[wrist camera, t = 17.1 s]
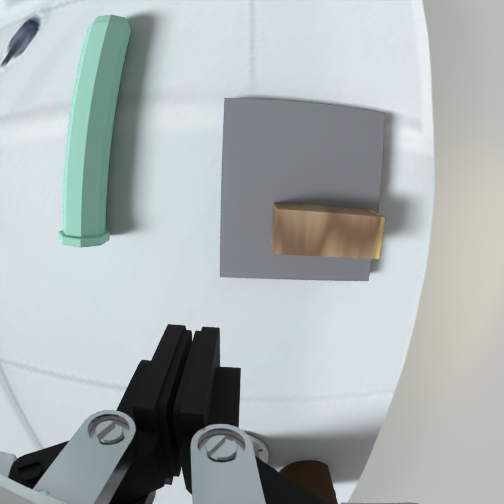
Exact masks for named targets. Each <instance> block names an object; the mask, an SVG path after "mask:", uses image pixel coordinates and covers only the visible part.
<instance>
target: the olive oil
mask: <svg viewBox="0 0 504 504" xmlns="http://www.w3.org/2000/svg"><path fill="white" fill-rule="evenodd" d="M279 473H281V474H282V475H284V476H285V477H287V478H288V479H290V480H291V481H293V482H294V483H296V484H297V485H299V486H301V487H302V488H304V489H305V490H307V491H308V492H310V493H312V494H313V495H315V496H317V497H318V498H320V499H322V500H323V501H324V502H325V503H327V504H338V503H337V499H336V493H335V490H334V488H333V484H332V480H331V476H330V472H329V468H328V467H327V465H325V464H324V463H322V462H318V461H301V462H296V463H293V464H290V465H288V466H286V467H284V468H283V469H281V470H280V471H279Z"/></svg>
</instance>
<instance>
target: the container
mask: <svg viewBox="0 0 504 504" xmlns="http://www.w3.org/2000/svg"><path fill="white" fill-rule="evenodd" d="M130 33H131V29H130V25H129V22H128V21H127V20H126V19H125V18H124V17H120V16H115V15H105V16H98V17H97V18H96V19H95V21H94V22H93V23H92V24H91V25H90V27H89V28H88V29H87V33H86V37H85V41H84V45H83V49H82V53H81V57H80V62H79V66H78V71H77V76H76V81H75V86H74V92H73V98H72V104H71V111H70V118H69V125H68V134H67V143H66V153H65V166H64V182H63V230H62V231H59V240H60V241H61V243H62V244H63V245H68V246H74V247H90V246H99V245H102V244H104V243H105V242H107V241H108V240H109V232H108V231H106V230H105V224H106V200H107V183H108V170H109V159H110V149H111V140H112V132H113V124H114V117H115V110H116V103H117V97H118V91H119V86H120V80H121V75H122V70H123V65H124V60H125V55H126V50H127V46H128V42H129V37H130Z"/></svg>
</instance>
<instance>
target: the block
mask: <svg viewBox="0 0 504 504" xmlns="http://www.w3.org/2000/svg"><path fill="white" fill-rule="evenodd" d="M384 223H385V217H384V216H382V215H380V214H378V213H376V212H374V211H372V210H368V209H357V208H345V207H333V206H320V205H307V204H292V203H276V202H274V205H273V220H272V235H271V244H272V249H273V254H282V255H303V256H323V257H344V258H364V259H379V256H380V250H381V243H382V237H383V230H384Z"/></svg>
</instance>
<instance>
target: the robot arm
mask: <svg viewBox="0 0 504 504" xmlns="http://www.w3.org/2000/svg"><path fill="white" fill-rule="evenodd" d="M240 375H241V368H232V367H220V329H219V328H214V327H202V330H201V331H195V334H194V338H193V341H192V332H191V330H186V327H185V326H184V325H171V324H168V326H167V328H166V330H165V332H164V334H163V336H162V338H161V340H160V343H159V345H158V347H157V349H156V351H155V354H154V356H153V358H152V360H151V361H148V360H142V361H141V362H140V363H139V365H138V367H137V369H136V371H135V373H134V375H133V377H132V379H131V381H130V383H129V385H128V387H127V389H126V391H125V394H124V396H123V398H122V400H121V402H120V404H119V406H118V408H117V410H116V411H115V410H104V411H100V412H96V413H95V414H93V415H91V416H89V417H88V418H87V419H86V420H85V421H84V423H83V424H82V425H81V427H80V428H79V429H78V430H77V432H76V433H75V434H74V436H73V437H72V438H71V439H70V440H69V441H67V442H64V443H61V444H58V445H55V446H52V447H49V448H45V449H42V450H39V451H36V452H33V453H29V454H26V455H24V456H21V457H19V458H17V457H16V456H15V455H14V454H9V453H5V452H1V451H0V504H152V503H153V501H154V498H155V494H156V491H155V490H157V489H159V488H161V487H163V486H164V484H169V485H172V480H173V476H177V477H179V475H180V471H181V466H182V471H183V476H184V481H185V485H186V489H187V490H188V491H189V492H190V493H191V494H192V497H193V504H327V503H325V502H324V501H323V500H322V499H320V498H318V497H317V496H315V495H313V494H312V493H310V492H308V491H307V490H305V489H304V488H302V487H301V486H299V485H297V484H296V483H294V482H293V481H291V480H290V479H288V478H287V477H285V476H284V475H282V474H281V473H279V472H278V471H276V470H275V469H273V468H272V467H271V466H269V465H268V464H267V463H268V461H269V451H268V448H267V447H266V445H265V444H264V443H263V442H262V441H260V440H259V439H257V438H255V437H253V436H251V435H247V434H246V433H245V432H244V431H243V430H241V429H240V428H238V427H239V403H240ZM341 504H376V503H343V502H342V503H341ZM378 504H379V503H378ZM380 504H418V503H380Z"/></svg>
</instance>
